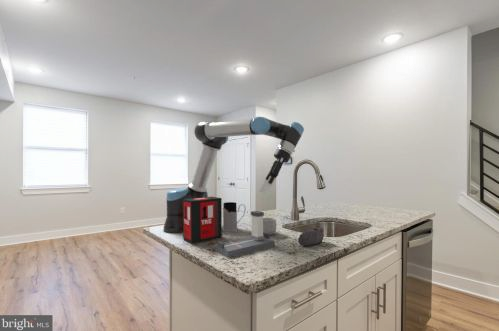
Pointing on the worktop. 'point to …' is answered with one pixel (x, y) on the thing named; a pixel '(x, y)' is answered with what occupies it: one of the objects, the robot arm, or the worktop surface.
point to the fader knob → (257, 225)
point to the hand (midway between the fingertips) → (263, 191)
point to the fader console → (243, 246)
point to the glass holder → (230, 216)
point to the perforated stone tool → (311, 237)
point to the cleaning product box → (202, 219)
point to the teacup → (269, 225)
